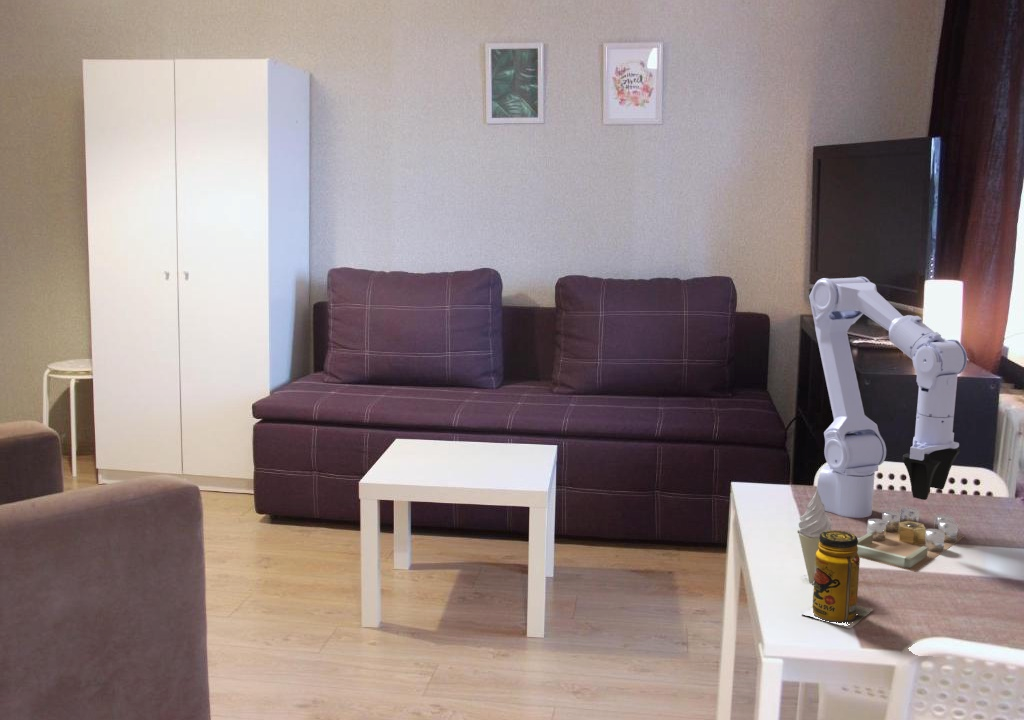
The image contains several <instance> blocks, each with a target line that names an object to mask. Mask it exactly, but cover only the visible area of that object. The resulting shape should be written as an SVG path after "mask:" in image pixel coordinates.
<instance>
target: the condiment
mask: <svg viewBox="0 0 1024 720" xmlns="http://www.w3.org/2000/svg"><path fill="white" fill-rule="evenodd" d="M819 539H820V540H819V541H820V542H819V544H818V547H819V549H818V551H817V552H816V557H815V574H814V581H813V590H812V591H813V593H812V607H813V613H814V616H815V617H818V618H820V619H822V620H825V621H829V622H836V623H837V622H838V623H842V622H843V623H845V622H846V624H847V622H848V624H850V625H848V624H847V625H848V626H844V625H842V626H841V625H839V626H840V627H843V628H847V629H852V628H853V627H854V626H856V625H857V624H858V623H859V622H860V621H862V620H863V619H864V618H865V617H866V616H869V614H870V613H871V612H872V611H874V608H871V607H865V606H859V605H858V593H859V591H858V590H859V575H860V561H861V560H860V559H861V558H859V555H858V553H857V551H858V547H857V544H858V539H859V538H858V537H857V536H856V535H855V534H853V533H851V532H848V531H843V530H834V529H833V530H832V529H831V531H825V532H822V533H821V534H820V537H819ZM856 614H858V615H856ZM852 622H853V623H852Z"/></svg>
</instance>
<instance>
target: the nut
mask: <svg viewBox="0 0 1024 720" xmlns="http://www.w3.org/2000/svg"><path fill="white" fill-rule="evenodd" d="M925 530H926V528H925V525H924V523H921V522H918V523H916V522H912V521H906V522H899V523H898V539H899V541H902V542H906V543H910V544H918V543H924V542H925Z"/></svg>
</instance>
